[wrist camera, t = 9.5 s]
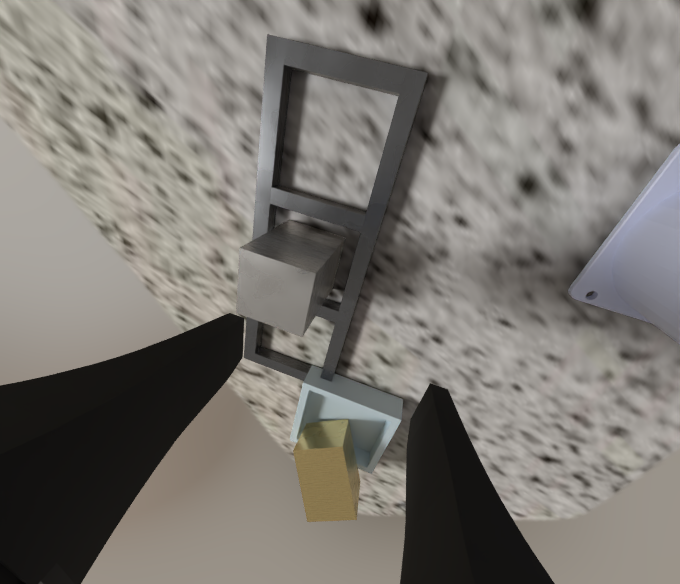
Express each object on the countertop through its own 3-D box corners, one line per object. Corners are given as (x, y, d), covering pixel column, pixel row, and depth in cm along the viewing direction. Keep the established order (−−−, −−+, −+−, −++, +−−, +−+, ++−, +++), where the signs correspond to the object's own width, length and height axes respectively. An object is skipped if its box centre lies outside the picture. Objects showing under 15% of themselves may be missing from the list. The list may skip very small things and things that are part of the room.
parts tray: (403, 399, 23) (401, 420, 22) (375, 452, 28) (371, 473, 26) (312, 364, 24) (303, 382, 23) (298, 421, 29) (289, 440, 27)
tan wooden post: (342, 446, 22) (356, 519, 22) (348, 418, 25) (360, 481, 26) (293, 450, 22) (307, 521, 22) (306, 423, 26) (318, 484, 26)
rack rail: (427, 77, 14) (427, 72, 13) (332, 382, 25) (328, 390, 24) (276, 40, 14) (267, 34, 14) (249, 350, 26) (243, 357, 25)
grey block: (345, 237, 18) (315, 273, 13) (332, 288, 20) (302, 337, 15) (289, 219, 19) (239, 247, 14) (282, 271, 21) (236, 312, 16)
